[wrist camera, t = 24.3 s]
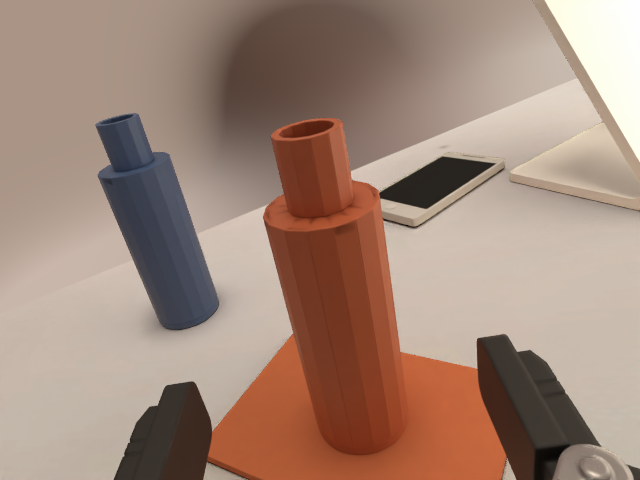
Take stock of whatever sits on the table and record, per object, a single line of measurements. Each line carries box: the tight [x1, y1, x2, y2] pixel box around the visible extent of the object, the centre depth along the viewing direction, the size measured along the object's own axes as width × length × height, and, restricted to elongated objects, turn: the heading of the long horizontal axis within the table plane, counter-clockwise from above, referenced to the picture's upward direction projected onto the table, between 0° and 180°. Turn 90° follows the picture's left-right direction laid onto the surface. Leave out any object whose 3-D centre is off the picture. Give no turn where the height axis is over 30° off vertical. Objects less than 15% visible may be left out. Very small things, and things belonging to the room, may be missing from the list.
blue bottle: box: [96, 113, 219, 329], centre depth 33 cm, size 5×5×15 cm
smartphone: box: [379, 152, 505, 227], centre depth 48 cm, size 7×16×1 cm, turn 132°
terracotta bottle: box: [263, 118, 408, 455], centre depth 21 cm, size 5×5×15 cm
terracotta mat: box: [207, 333, 507, 480], centre depth 24 cm, size 10×14×1 cm
